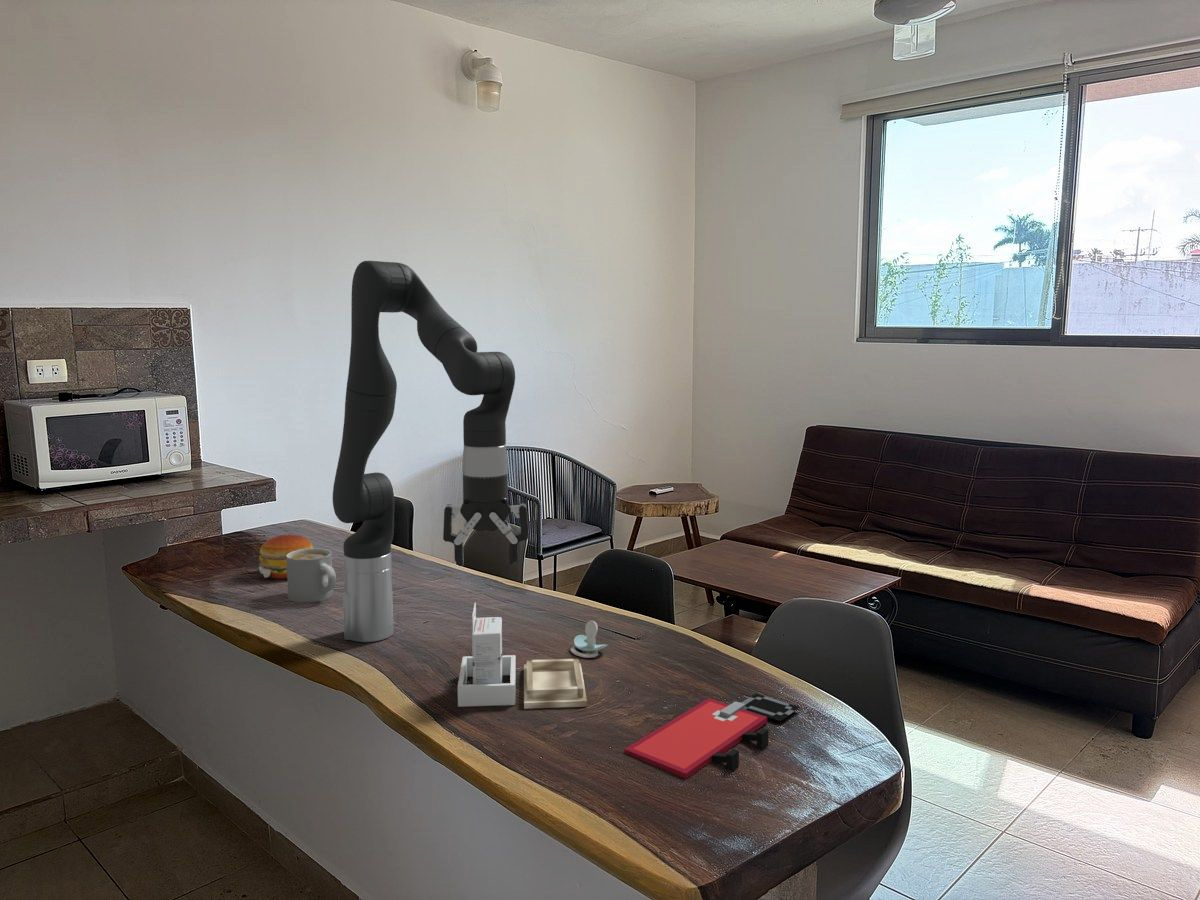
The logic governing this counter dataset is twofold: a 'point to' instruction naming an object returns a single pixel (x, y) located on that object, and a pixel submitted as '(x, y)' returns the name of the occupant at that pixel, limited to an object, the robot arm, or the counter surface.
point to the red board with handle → (709, 734)
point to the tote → (487, 685)
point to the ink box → (486, 649)
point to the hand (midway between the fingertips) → (486, 564)
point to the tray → (554, 684)
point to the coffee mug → (310, 575)
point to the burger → (279, 554)
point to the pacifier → (587, 646)
